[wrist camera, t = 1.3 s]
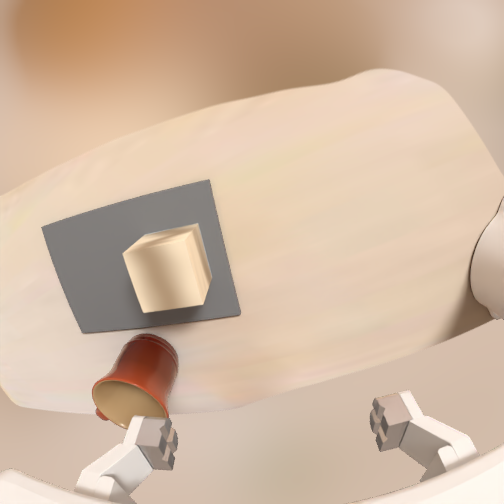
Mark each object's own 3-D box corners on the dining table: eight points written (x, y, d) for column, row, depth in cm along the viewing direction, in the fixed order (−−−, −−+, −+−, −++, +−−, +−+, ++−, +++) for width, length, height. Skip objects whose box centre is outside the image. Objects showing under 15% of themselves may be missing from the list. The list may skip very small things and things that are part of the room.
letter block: (198, 222, 30) (184, 240, 25) (212, 277, 32) (203, 304, 27) (144, 234, 31) (122, 253, 25) (160, 285, 33) (143, 312, 27)
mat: (209, 179, 30) (208, 179, 29) (240, 312, 34) (240, 314, 34) (43, 226, 31) (41, 227, 31) (83, 331, 36) (82, 332, 36)
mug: (152, 312, 35) (121, 367, 25) (200, 361, 37) (185, 421, 27) (98, 352, 37) (66, 400, 28) (141, 392, 39) (120, 444, 30)
